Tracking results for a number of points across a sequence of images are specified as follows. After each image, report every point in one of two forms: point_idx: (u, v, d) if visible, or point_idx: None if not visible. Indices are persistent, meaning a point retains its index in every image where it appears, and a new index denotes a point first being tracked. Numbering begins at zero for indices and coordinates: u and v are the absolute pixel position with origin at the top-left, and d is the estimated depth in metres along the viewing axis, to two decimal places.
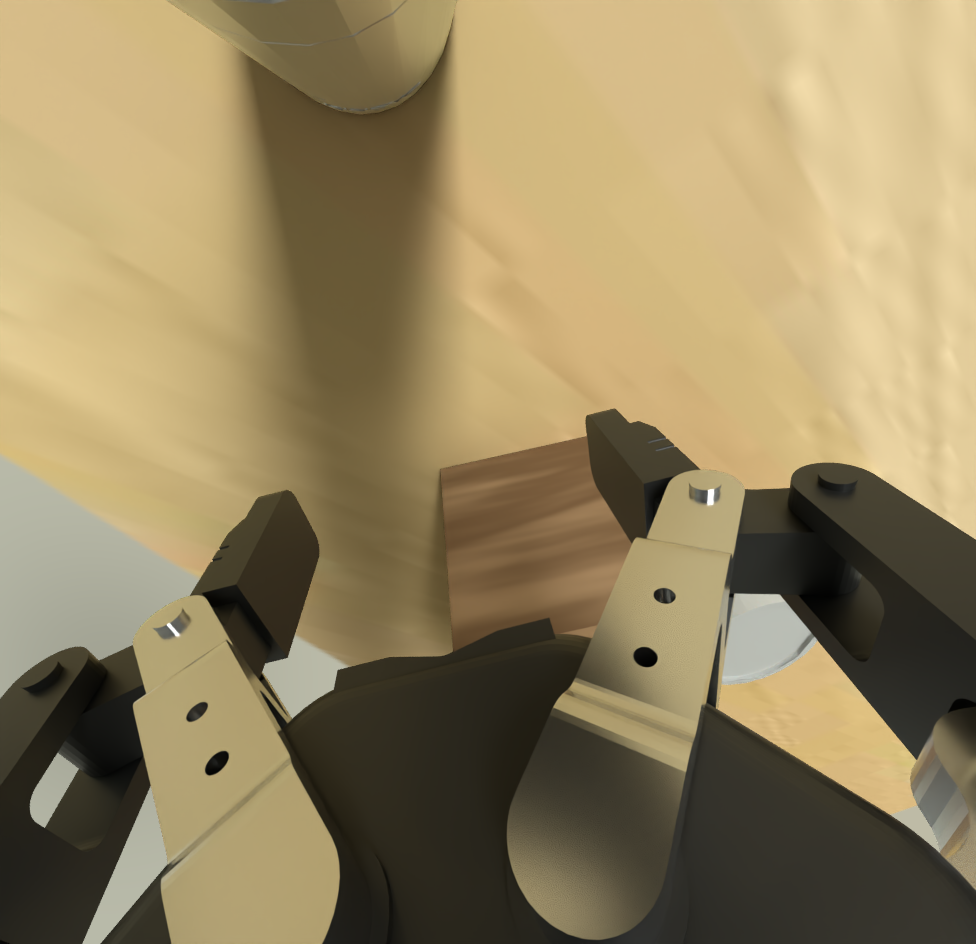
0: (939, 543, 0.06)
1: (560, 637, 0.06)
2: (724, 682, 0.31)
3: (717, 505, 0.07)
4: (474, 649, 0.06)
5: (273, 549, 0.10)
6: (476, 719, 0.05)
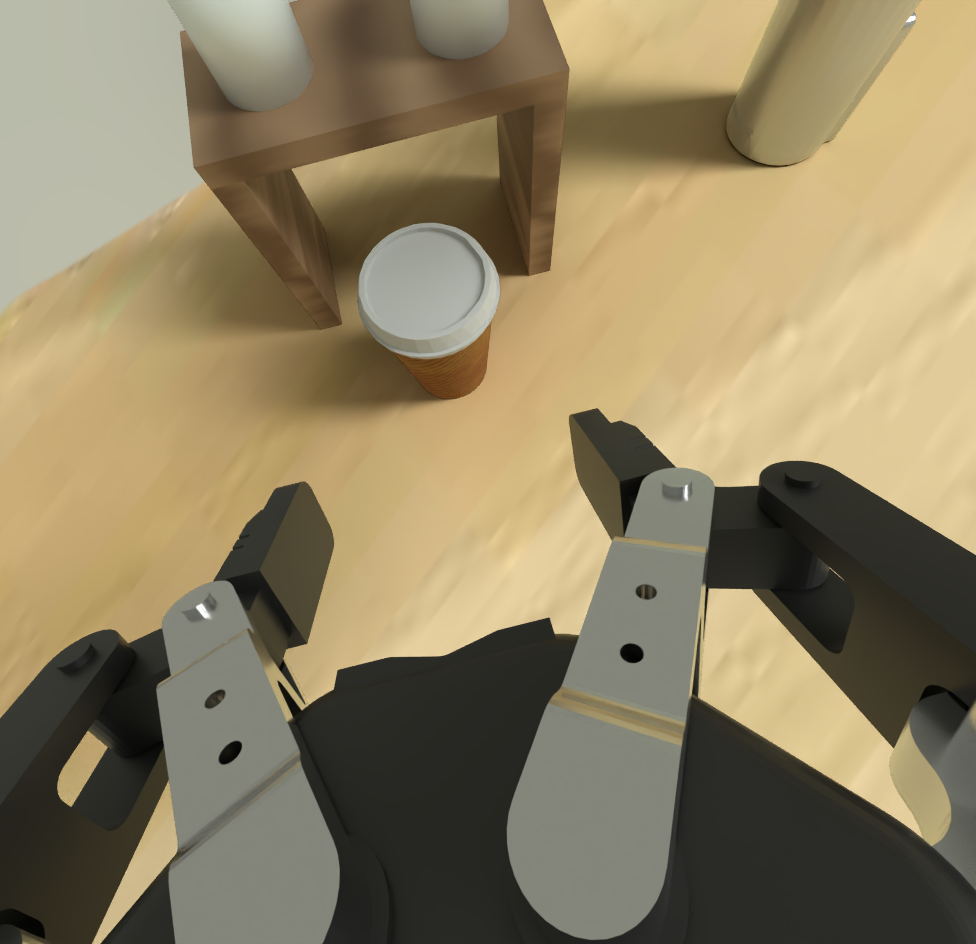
0: (901, 534, 0.06)
1: (560, 637, 0.06)
2: (364, 269, 0.29)
3: (687, 502, 0.08)
4: (475, 649, 0.06)
5: (292, 538, 0.10)
6: (476, 719, 0.05)
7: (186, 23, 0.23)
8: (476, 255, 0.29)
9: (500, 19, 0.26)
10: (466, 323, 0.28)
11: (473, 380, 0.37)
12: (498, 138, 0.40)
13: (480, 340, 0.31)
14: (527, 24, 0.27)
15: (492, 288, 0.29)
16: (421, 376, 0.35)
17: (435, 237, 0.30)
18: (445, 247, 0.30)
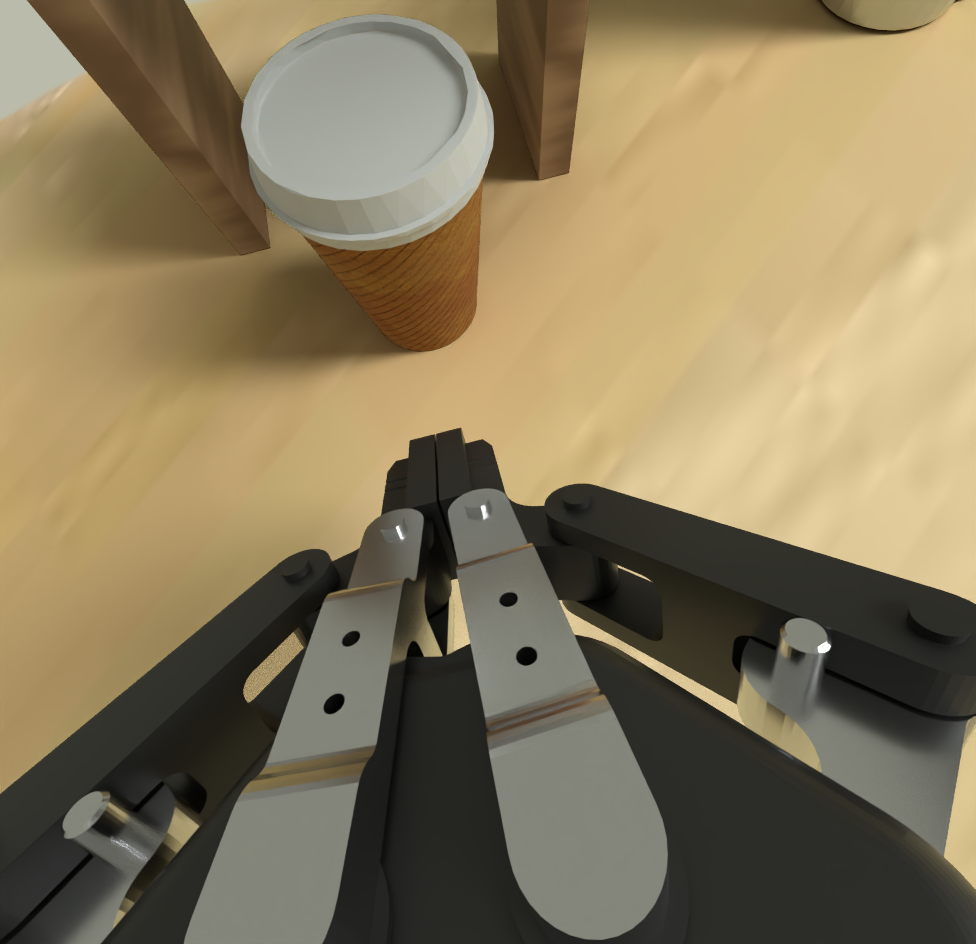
0: (664, 522, 0.07)
1: None
2: (255, 89, 0.17)
3: (477, 521, 0.08)
4: None
5: None
6: (476, 719, 0.05)
7: None
8: (453, 66, 0.17)
9: None
10: (432, 172, 0.15)
11: (455, 318, 0.25)
12: None
13: (461, 229, 0.19)
14: None
15: (480, 119, 0.16)
16: (370, 303, 0.22)
17: (382, 41, 0.17)
18: (399, 56, 0.17)
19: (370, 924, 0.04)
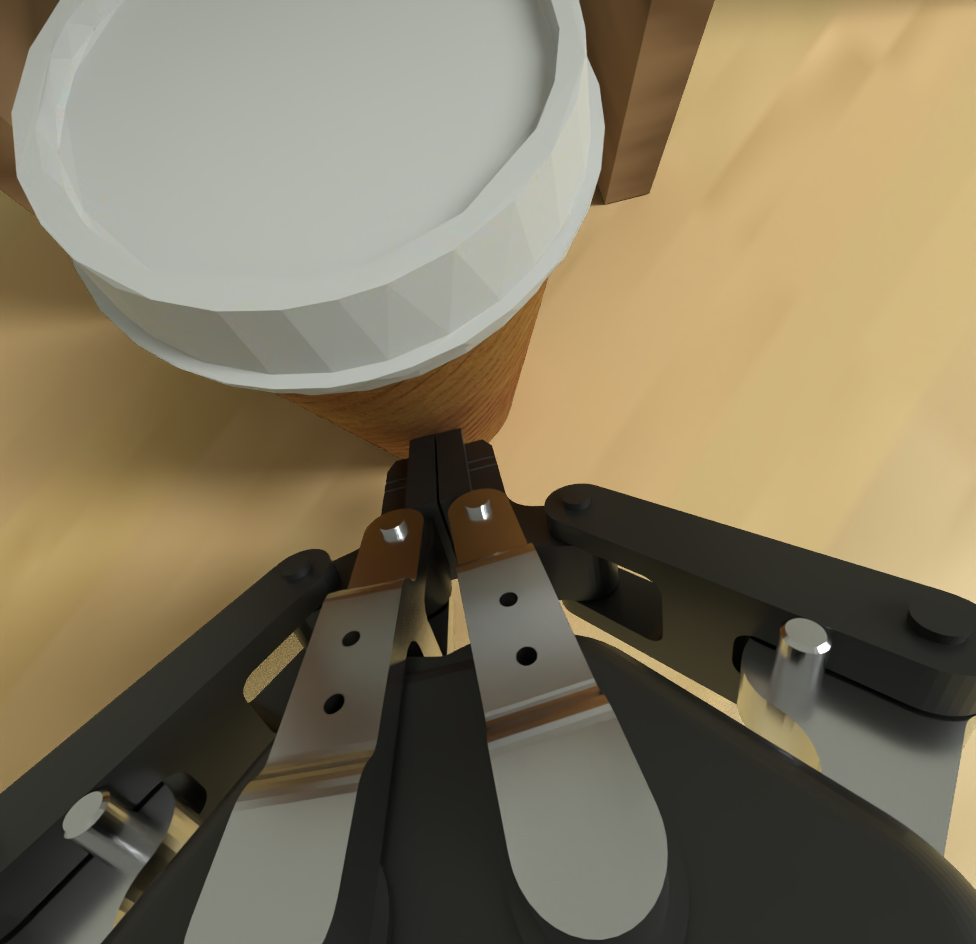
0: (665, 522, 0.07)
1: None
2: (57, 26, 0.07)
3: (477, 522, 0.08)
4: None
5: None
6: (476, 719, 0.05)
7: None
8: None
9: None
10: (473, 238, 0.06)
11: None
12: None
13: (518, 327, 0.09)
14: None
15: (585, 97, 0.07)
16: (344, 428, 0.13)
17: None
18: None
19: (370, 924, 0.04)
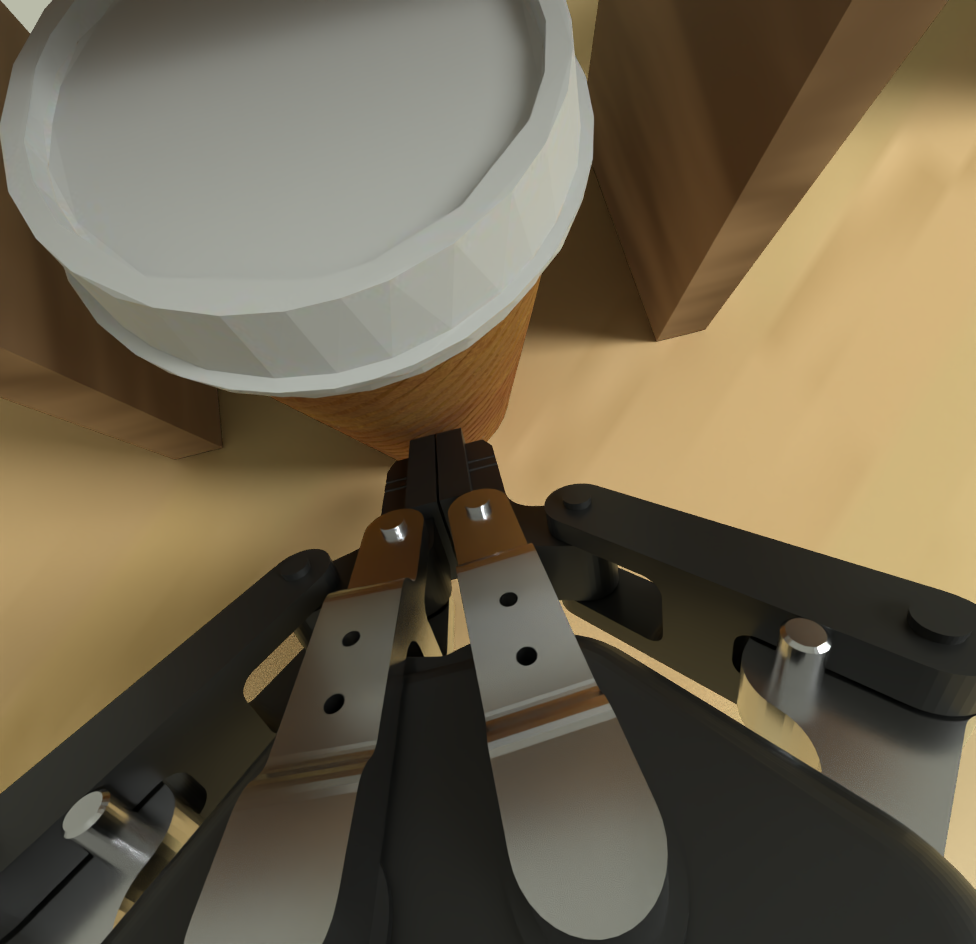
0: (665, 522, 0.07)
1: None
2: (40, 39, 0.07)
3: (477, 521, 0.08)
4: None
5: None
6: (476, 719, 0.05)
7: None
8: None
9: None
10: (474, 231, 0.06)
11: (484, 428, 0.15)
12: (600, 8, 0.16)
13: (516, 321, 0.09)
14: None
15: (574, 87, 0.07)
16: (344, 432, 0.12)
17: None
18: None
19: (370, 923, 0.04)
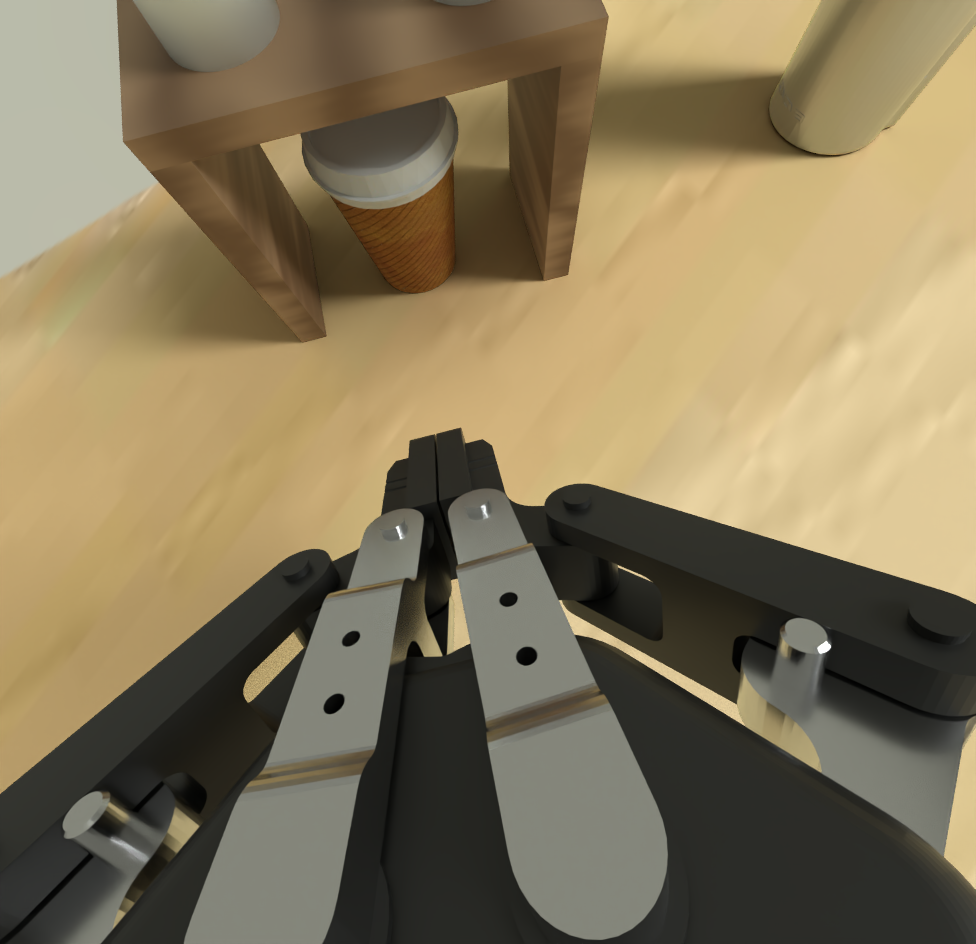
0: (665, 523, 0.07)
1: None
2: None
3: (477, 521, 0.08)
4: None
5: None
6: (476, 719, 0.05)
7: None
8: None
9: None
10: (422, 156, 0.25)
11: (440, 264, 0.35)
12: (509, 121, 0.34)
13: (441, 194, 0.28)
14: None
15: (448, 121, 0.26)
16: (382, 252, 0.32)
17: None
18: None
19: (370, 924, 0.04)
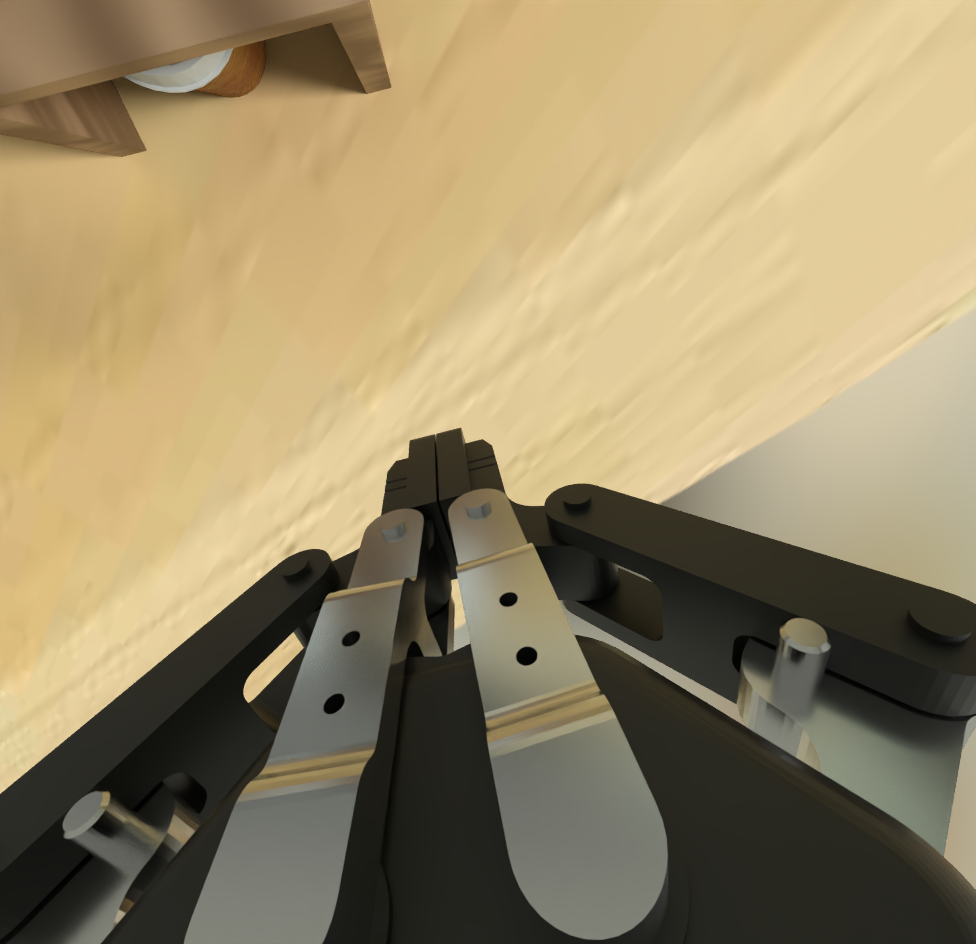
0: (664, 522, 0.07)
1: None
2: None
3: (477, 522, 0.08)
4: None
5: None
6: (476, 719, 0.05)
7: None
8: None
9: None
10: None
11: (250, 79, 0.33)
12: None
13: (235, 51, 0.27)
14: None
15: None
16: None
17: None
18: None
19: (370, 924, 0.04)
